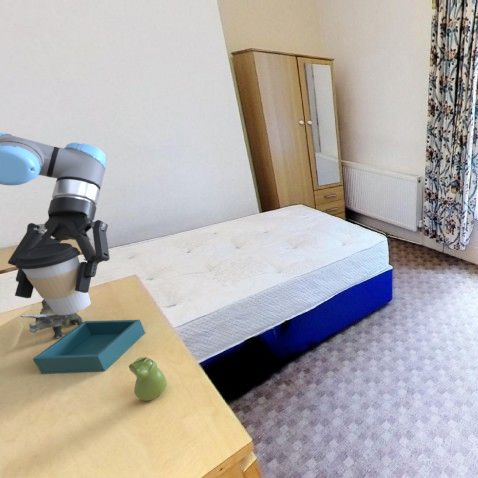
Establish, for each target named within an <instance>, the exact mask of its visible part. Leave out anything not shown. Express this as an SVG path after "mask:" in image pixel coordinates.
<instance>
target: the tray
mask: <svg viewBox="0 0 478 478" xmlns="http://www.w3.org/2000/svg"><path fill="white" fill-rule="evenodd" d="M144 335H146V331H145V329H144V326H143V323H142V321H141V319H116V320H115V319H114V320H113V319H112V320H84V321H83V323H82V324H80V325H79V326H78V325H77V326H76V327H74V328H73V329H72V330H71V331H69V332H67V333H66V334H65V335H64V336H61V338H60V339H59V338H58V340H57V341H55V342H54V343H52V344H51V345H50V346H48V347H47V348H45V349H44V350H43V351H42V352H40V353H39V354H37V355H36V356H34V357H33V358H32V360H33V362H34V364H35V366H36V367H37V369H38V371H39V372H40V374H41V375H45V374H46V375H47V374H69V373H70V374H71V373H72V374H73V373H94V372H106V371H107V370H108V369H109V368H110V367H111V366H112V365H114V363H115V362H117V360H119V359H120V358H121V357H122V356H123V355H124V354H125V353H126V352H127V351H128V350H129V349H130V348H131V347H133V346H134V344H136V342H137V341H139V340H140V339H141V338H142V337H143V336H144Z"/></svg>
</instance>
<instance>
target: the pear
mask: <svg viewBox="0 0 478 478" xmlns="http://www.w3.org/2000/svg"><path fill="white" fill-rule="evenodd" d="M128 369H129V371H130V372H131V373H132V374H133V375H135V377H136V379H135V383H134V387H133V388H134V389H133V393H134V395H135V397H136V398H137V399H139V400H140V401H144V402H145V401H152V400H155V399H156V398H159V397H160V396H161V395H162V394H163V393H164V392H165V391H166V388H167V385H168V383H167V378H166V376H165V374H164V373H163V371H162V370H161V369H160V368H159V367H158V365H157V362H156V361H154V360H153V359H151V358H149V357H148V356H143V357H139V358H137V359H135V361H133V362H132V363H130V364H129V365H128Z"/></svg>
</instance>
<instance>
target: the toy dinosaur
mask: <svg viewBox="0 0 478 478" xmlns="http://www.w3.org/2000/svg"><path fill="white" fill-rule="evenodd" d="M41 306H42V308H41V309H40V312H39V314H25V315H20V317H21V318H30V319H35V322H32V323H31V322H30V323H28V326H29V332H30V333H31V334H36V333H39V332H40V331H42V330H44V329H51V328H52V331H53V333H54V335H53V336H52V338H51V339H52V340H54V339H59V338H60V337H61V338H62V337H64V336H65V335H64V333H63V331H62V326H66V325H67V324H70V325H77V327H78V326H79V325H80V324H82V323H83V322H84V321H83V319H82V317H81V316H80V315H79V314H78V312H76V313H73V314H69V315H57V314H55V313H54V311H53V310H52V309H51V307H50V306H49V305H48V303H47V302H46V301H45V299H44V298H42V300H41Z"/></svg>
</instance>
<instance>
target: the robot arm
mask: <svg viewBox="0 0 478 478" xmlns="http://www.w3.org/2000/svg"><path fill="white" fill-rule="evenodd" d="M106 164H107V156H106V153H105V152H104V151H102V150H101V149H100V148H98V147H97V146H94V145H91V144H88V143H79V142H70V143H68V144H67V145H66V146H65V147H58V146H53V145H51V144H46V143H42V142H38V141H34V140H31V139H27V138H23V137H20V136H16V135H12V134H10V133H4V132H0V185H2V186H20V185H25V184H27V183H29V182H31V181H32V180H35V179H36V178H37V177H38V176H42V177H46V178H53V179H56V180H55V184H54V188H53V191H52V195H51V200H50V203H49V206H48V209H47V215H48V219H47V220H46V221H45V222H44V223H40V224H36V223H33V222H30V223H28V224H27V227H26V232H25V234H24V236H23V237H22V238H21V240H20V242H19V244H18V245H17V246H16V248H15V250H14V251H13V253H12V254H11V256H10V257H9V259H8V261H7V264H8V265H11V266H14V267H16V264H15V262H16V260H17V259H18V258H17V256H18V254H20V253H21V252H23V251H26V250H28V249H31V248H35V247H38V246H43V245H48V244H55V243H62V241H69V240H73V241H75V242H76V244H77V245H78V247H79V248H78V249H80V250H79V251H80V253H82V255H83V256H82V257H84V258H83V261H80V268H79V272H78V277H77V281H76V286H75V291H79V292H82V293H88V294H89V290H90V285H91V282H92V281H91V280H92V278H95V277H96V274H97V270H98V265H99V264H100V263H102V262H108V261H110V250H109V245H108V244H109V243H108V238H107V237H108V236H107V231H108V227H109V224H107V223H105V222H104V221H102V220H100V219H98V220H95V217H96V213H97V205H98V203H99V199H100V193H101V188H102V184H103V180H104V176H105V172H106ZM94 220H95V221H94ZM91 229H92V237H93V244H94V247H93V245H92V243H91V239H90V237H89V235H88V232H89V231H90V230H91ZM17 269H18V270H17V272H16V276H15V282H17V286H16V289H15V292H14V296H15V297H19V298H23V299H31V298H32V296H33V293H34V289H35V288H34V286H33V285H32V284H31V282H30V281H29V280H28V278H27V277H26V274H25V273H24V271H23V270H22V269H19V268H17Z"/></svg>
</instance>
